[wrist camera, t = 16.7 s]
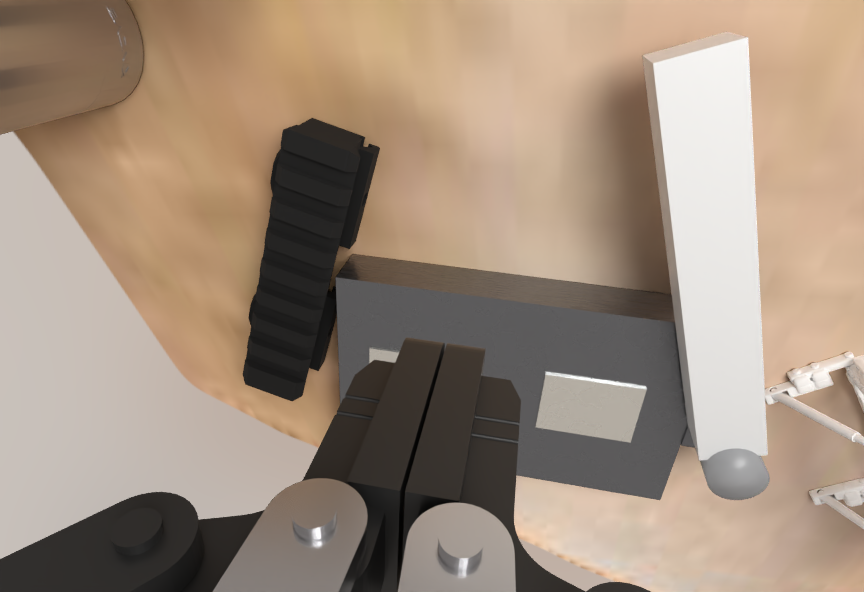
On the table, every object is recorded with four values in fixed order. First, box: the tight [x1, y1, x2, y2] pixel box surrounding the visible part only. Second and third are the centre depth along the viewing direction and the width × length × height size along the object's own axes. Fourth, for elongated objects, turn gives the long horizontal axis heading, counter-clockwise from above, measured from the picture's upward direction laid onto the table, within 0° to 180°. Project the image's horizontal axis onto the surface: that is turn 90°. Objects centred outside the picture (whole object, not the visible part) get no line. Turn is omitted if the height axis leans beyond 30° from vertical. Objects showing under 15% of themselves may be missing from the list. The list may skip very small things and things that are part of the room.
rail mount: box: [243, 118, 380, 401], centre depth 42 cm, size 21×6×5 cm, turn 163°
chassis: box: [336, 254, 695, 500], centre depth 43 cm, size 30×16×4 cm, turn 87°
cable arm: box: [642, 32, 769, 500], centre depth 32 cm, size 28×4×4 cm, turn 17°
